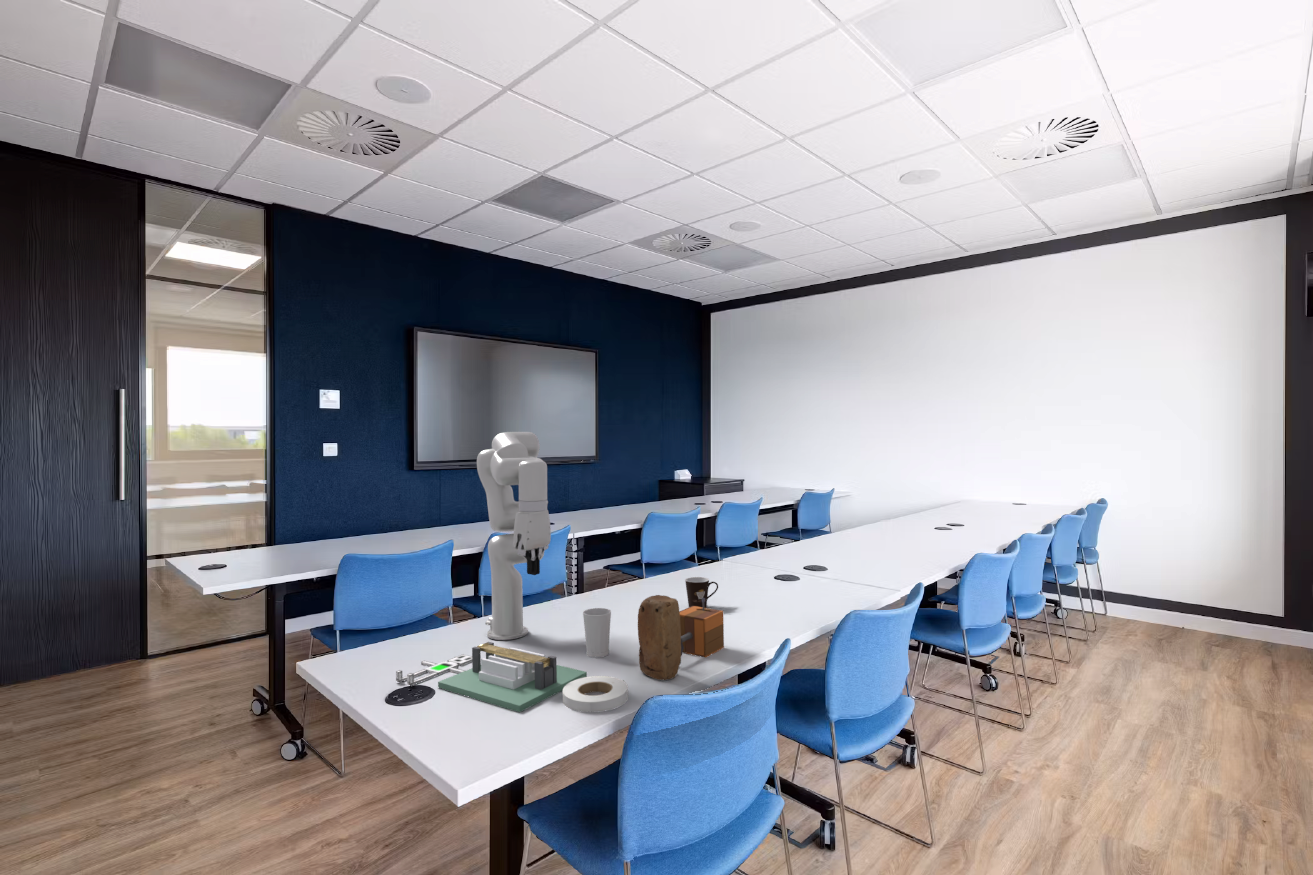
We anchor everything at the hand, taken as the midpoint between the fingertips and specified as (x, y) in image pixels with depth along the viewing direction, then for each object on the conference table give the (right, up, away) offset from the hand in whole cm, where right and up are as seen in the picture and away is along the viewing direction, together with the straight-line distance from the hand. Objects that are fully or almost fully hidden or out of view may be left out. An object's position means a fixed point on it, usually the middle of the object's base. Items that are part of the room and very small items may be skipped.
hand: (533, 573), depth 172 cm
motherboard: (-3, -25, -11) cm, 28 cm away
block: (+34, -25, -7) cm, 43 cm away
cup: (+16, -25, +10) cm, 32 cm away
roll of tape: (+19, -26, -21) cm, 38 cm away
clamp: (+43, -25, +8) cm, 50 cm away
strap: (-3, -19, -10) cm, 22 cm away
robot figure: (-25, -26, -1) cm, 37 cm away
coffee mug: (+50, -25, +58) cm, 80 cm away
